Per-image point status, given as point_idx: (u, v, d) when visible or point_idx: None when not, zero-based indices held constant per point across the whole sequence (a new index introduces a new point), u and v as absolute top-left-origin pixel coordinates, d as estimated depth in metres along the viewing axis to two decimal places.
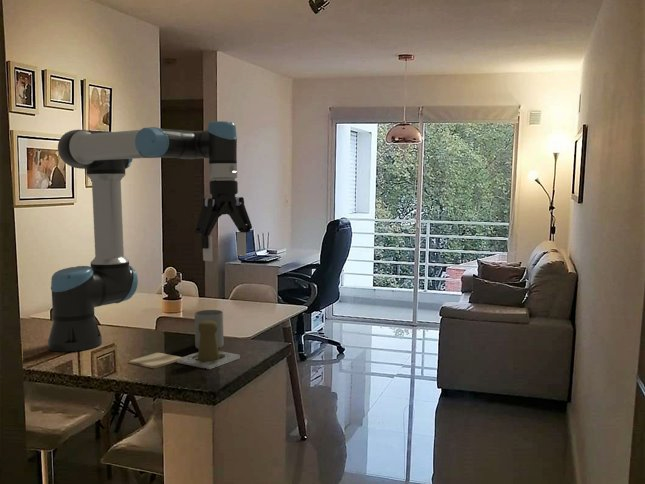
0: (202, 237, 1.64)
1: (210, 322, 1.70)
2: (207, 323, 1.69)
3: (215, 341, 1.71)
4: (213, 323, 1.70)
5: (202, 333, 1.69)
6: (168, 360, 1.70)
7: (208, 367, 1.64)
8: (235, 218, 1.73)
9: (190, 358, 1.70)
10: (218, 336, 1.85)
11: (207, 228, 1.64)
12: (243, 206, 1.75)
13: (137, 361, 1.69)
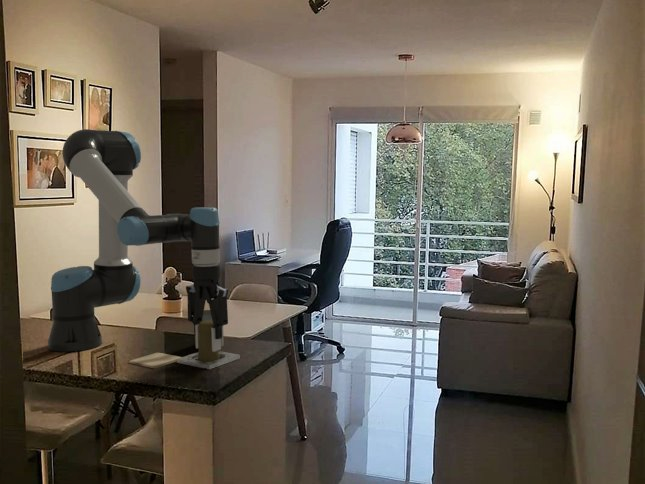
0: None
1: (210, 322, 1.70)
2: (207, 323, 1.69)
3: None
4: None
5: (202, 333, 1.69)
6: (168, 360, 1.70)
7: (208, 367, 1.64)
8: None
9: (190, 358, 1.70)
10: None
11: None
12: (219, 299, 1.66)
13: (137, 361, 1.69)
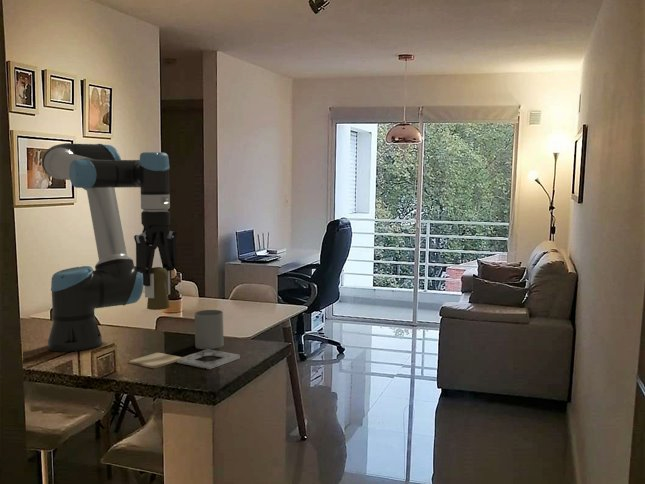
0: (144, 275, 1.66)
1: None
2: (163, 268, 1.70)
3: None
4: None
5: (163, 279, 1.69)
6: (168, 360, 1.70)
7: (208, 367, 1.64)
8: (162, 251, 1.71)
9: (190, 358, 1.70)
10: (218, 336, 1.85)
11: (147, 266, 1.66)
12: (174, 241, 1.73)
13: (137, 361, 1.69)
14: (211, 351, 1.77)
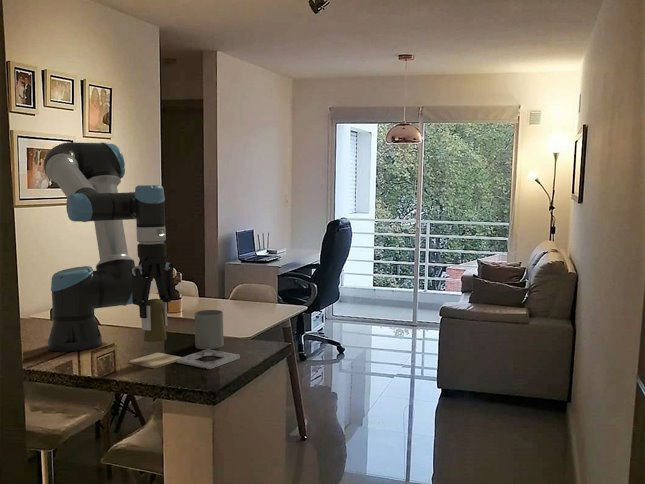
0: (140, 307, 1.66)
1: (158, 299, 1.71)
2: (160, 300, 1.70)
3: None
4: None
5: (160, 310, 1.69)
6: (168, 360, 1.70)
7: (208, 367, 1.64)
8: (159, 283, 1.71)
9: (190, 358, 1.70)
10: (218, 336, 1.85)
11: (143, 298, 1.66)
12: (171, 272, 1.73)
13: (137, 361, 1.69)
14: (211, 351, 1.77)
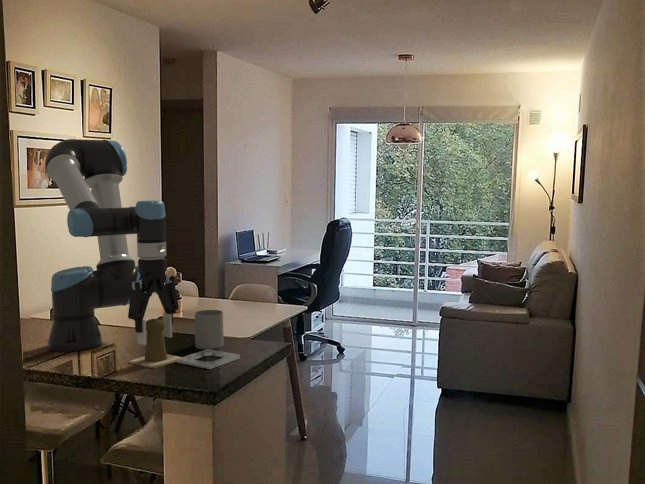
0: (136, 321, 1.66)
1: (159, 319, 1.72)
2: (161, 320, 1.71)
3: None
4: None
5: (160, 330, 1.70)
6: (168, 360, 1.70)
7: (208, 367, 1.64)
8: (162, 297, 1.72)
9: (190, 358, 1.70)
10: (218, 336, 1.85)
11: (139, 313, 1.65)
12: (173, 285, 1.74)
13: (137, 361, 1.69)
14: (211, 351, 1.77)
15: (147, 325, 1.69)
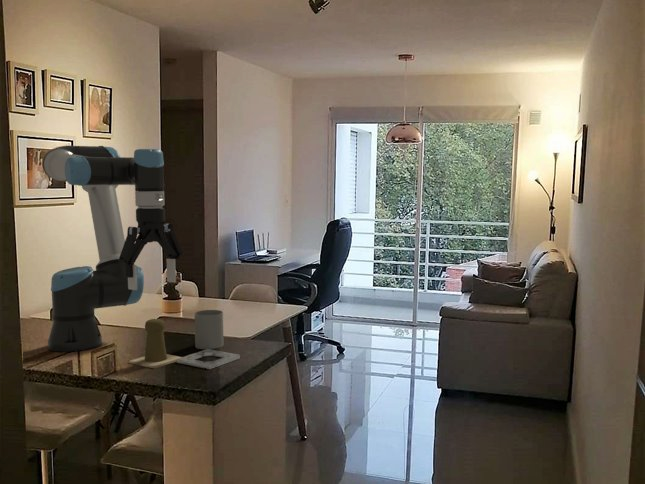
0: (126, 266, 1.62)
1: (159, 319, 1.72)
2: (161, 320, 1.71)
3: None
4: None
5: (160, 331, 1.70)
6: (168, 360, 1.70)
7: (208, 367, 1.64)
8: (163, 245, 1.72)
9: (190, 358, 1.70)
10: (218, 336, 1.85)
11: (131, 257, 1.63)
12: (172, 233, 1.73)
13: (137, 361, 1.69)
14: (211, 351, 1.77)
15: (147, 325, 1.69)
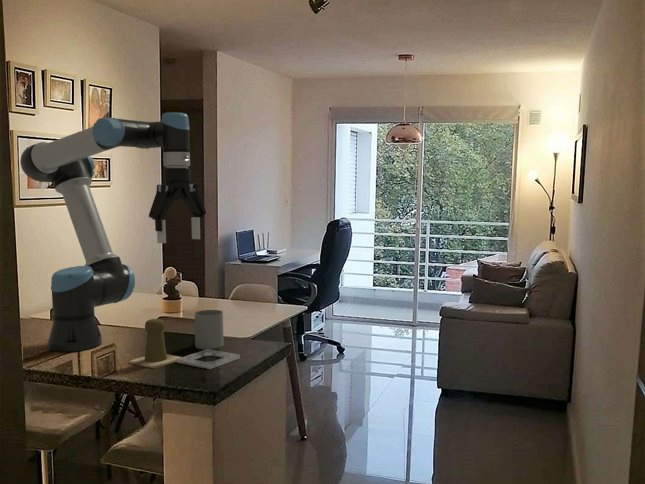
0: (156, 221, 1.75)
1: (159, 319, 1.72)
2: (161, 320, 1.71)
3: None
4: None
5: (160, 331, 1.70)
6: (168, 360, 1.70)
7: (208, 367, 1.64)
8: (188, 203, 1.85)
9: (190, 358, 1.70)
10: (218, 336, 1.85)
11: (160, 212, 1.75)
12: (197, 192, 1.86)
13: (137, 361, 1.69)
14: (211, 351, 1.77)
15: (147, 325, 1.69)
